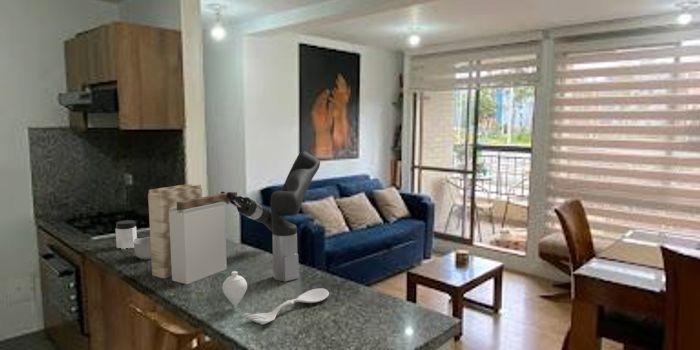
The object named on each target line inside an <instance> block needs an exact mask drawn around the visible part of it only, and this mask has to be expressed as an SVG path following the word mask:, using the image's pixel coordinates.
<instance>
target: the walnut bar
mask: <svg viewBox="0 0 700 350" xmlns="http://www.w3.org/2000/svg"><path fill="white" fill-rule="evenodd" d="M229 192H230V193H232V194H234V195H237V196H238V192H237V191H236V192H235V191H229ZM227 193H228V192H225V193H223V194H221V193H219V194H218V193H217V194H214V195H213V194H212V195H208V196H202V197H201V198H196V199H191V200H185V201H180V202H177V210H180V211H182V210H185V209H190V208H195V207H200V206H205V205H210V204H215V203H219V202H224V203H226V202H227V201H232V200H231V199H229V198H227V197H226V196H227Z"/></svg>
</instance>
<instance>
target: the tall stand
mask: <svg viewBox="0 0 700 350" xmlns="http://www.w3.org/2000/svg"><path fill="white" fill-rule="evenodd" d="M147 197H148V198H147V199H148V214H149V215H148V218H149V237H150V241H151V259H150V260H151V275H152V276H154V277H158V278H161V279H166V278H170V277H172V266H171V244H170V223H169V208H174V207H177V202H180V201H185V200H191V199H196V198H201V197H203V188H202V185H201V184H194V185H193V183H185V184H178V185H173V186H167V187H159V188H153V189H152V188H151V189H148V195H147Z"/></svg>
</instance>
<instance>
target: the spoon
mask: <svg viewBox="0 0 700 350" xmlns="http://www.w3.org/2000/svg"><path fill="white" fill-rule="evenodd" d="M329 294H330V292H329V291H328V290H327V289H326V288H323V287H322V288H320V287H319V288H313V289H310V290H307V291H305V292H304V293H302V294H299V295H298V296H297V298H293V299H289V300H288V299H287V300H286V301H285V302H283V303H280V304H279V305H278V306H277V307H276V308H274V309H273V310H272V311H270V312H264V313H263V312H260V313H249V312H248V313H247V312H245V313H243V314H242V317H243V318H246V319H248V320H250V321H253V322H255V323H258V324H260V325H265V324H268V323H271V322H272V321H275V319H276V316H277V315H278V313H279V312H280V311H281V310H282V309H283V308H284V307H287V306H291V305H294V304H295V303H302V304H303V303H305V304H314V303H315V304H316V303H319V302H322V301H324V300H325V299H327V298H328V297H329Z"/></svg>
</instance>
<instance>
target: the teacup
mask: <svg viewBox="0 0 700 350" xmlns="http://www.w3.org/2000/svg"><path fill="white" fill-rule="evenodd" d="M133 244H134V248H133V251H134V255H135V256H136V257H137V259H138V258H139V259H141V260H143V259H144V260H151V241H150V236H147V237H142V238H141V237H140V238H138V237H137V239H135V240H134V242H133Z"/></svg>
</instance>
